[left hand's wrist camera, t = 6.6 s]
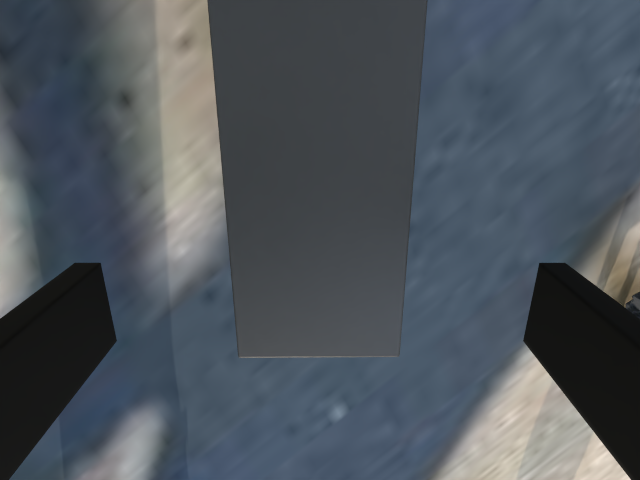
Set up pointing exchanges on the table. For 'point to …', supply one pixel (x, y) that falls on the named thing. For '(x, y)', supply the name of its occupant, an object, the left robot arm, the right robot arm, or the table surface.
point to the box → (318, 169)
